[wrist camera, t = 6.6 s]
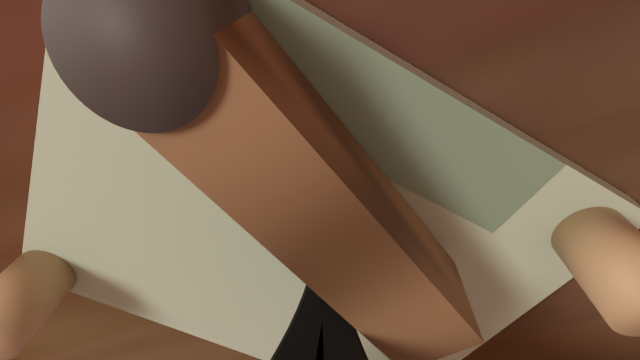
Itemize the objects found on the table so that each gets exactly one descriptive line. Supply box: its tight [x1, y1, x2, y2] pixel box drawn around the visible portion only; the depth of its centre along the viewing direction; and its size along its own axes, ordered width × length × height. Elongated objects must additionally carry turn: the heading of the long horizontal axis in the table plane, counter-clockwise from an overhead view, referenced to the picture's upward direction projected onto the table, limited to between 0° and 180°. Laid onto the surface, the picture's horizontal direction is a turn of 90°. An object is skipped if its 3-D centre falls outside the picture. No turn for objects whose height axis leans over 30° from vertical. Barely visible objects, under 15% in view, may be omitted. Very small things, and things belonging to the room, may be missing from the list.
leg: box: [41, 0, 484, 360], centre depth 9 cm, size 12×3×3 cm, turn 38°
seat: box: [0, 0, 640, 360], centre depth 12 cm, size 14×18×4 cm
